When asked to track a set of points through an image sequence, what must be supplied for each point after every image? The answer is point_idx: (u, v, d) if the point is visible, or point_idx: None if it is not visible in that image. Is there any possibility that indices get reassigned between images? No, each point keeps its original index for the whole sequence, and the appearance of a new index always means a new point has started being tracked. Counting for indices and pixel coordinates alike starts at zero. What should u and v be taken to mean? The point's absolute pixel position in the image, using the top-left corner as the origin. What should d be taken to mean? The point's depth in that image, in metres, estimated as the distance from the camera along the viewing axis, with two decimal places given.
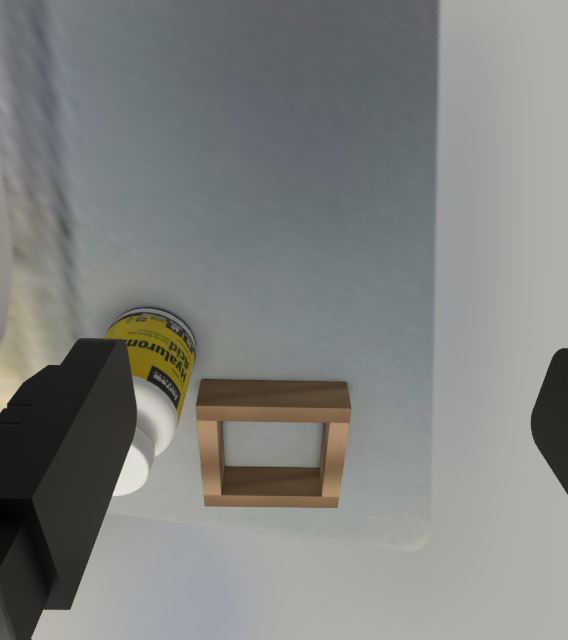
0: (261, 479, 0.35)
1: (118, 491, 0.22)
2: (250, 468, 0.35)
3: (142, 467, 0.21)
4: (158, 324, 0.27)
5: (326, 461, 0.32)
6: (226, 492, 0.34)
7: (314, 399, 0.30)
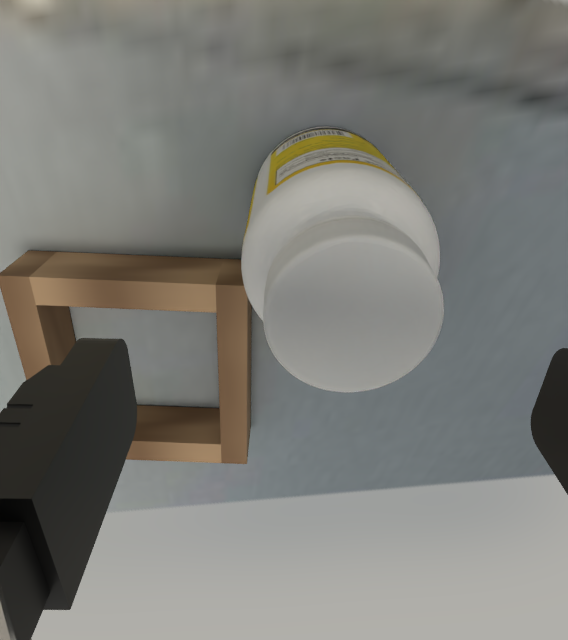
0: (64, 344, 0.21)
1: (280, 337, 0.11)
2: (69, 316, 0.22)
3: (346, 385, 0.11)
4: None
5: (145, 442, 0.22)
6: (40, 310, 0.19)
7: (247, 418, 0.22)
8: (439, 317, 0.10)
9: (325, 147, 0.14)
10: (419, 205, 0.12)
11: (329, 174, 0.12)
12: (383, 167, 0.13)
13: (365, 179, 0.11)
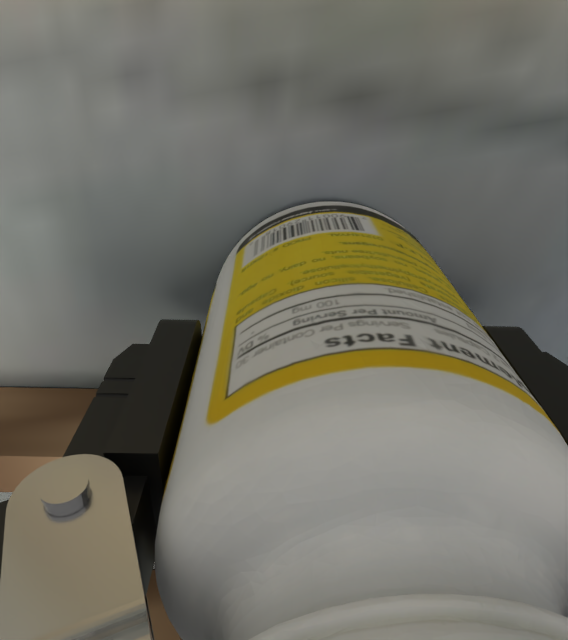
0: None
1: None
2: None
3: None
4: None
5: None
6: None
7: None
8: None
9: (333, 280, 0.07)
10: None
11: (352, 421, 0.04)
12: (467, 351, 0.06)
13: (447, 438, 0.04)
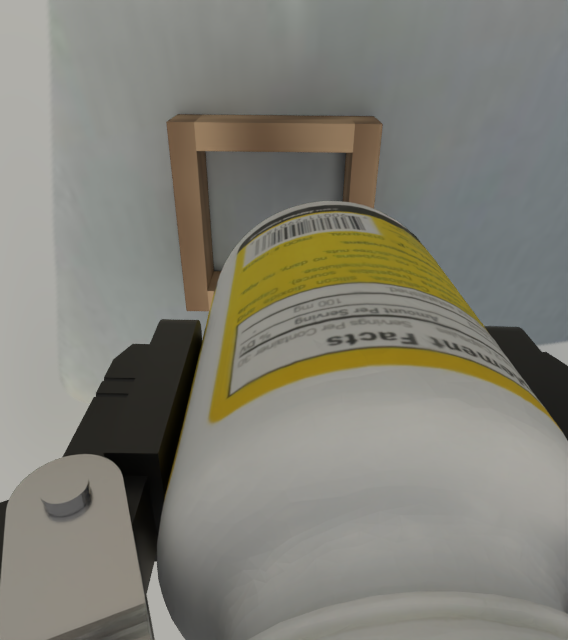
0: (205, 202, 0.24)
1: None
2: None
3: None
4: None
5: None
6: (198, 158, 0.22)
7: None
8: None
9: (335, 279, 0.07)
10: None
11: (355, 419, 0.04)
12: (469, 349, 0.06)
13: (450, 437, 0.04)
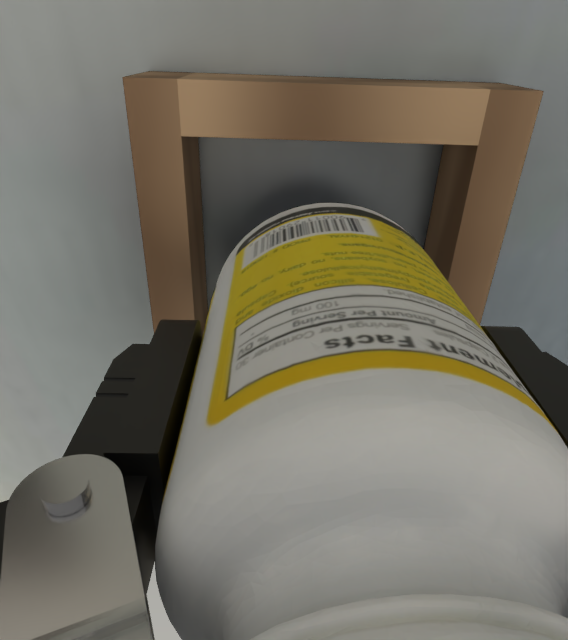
0: (197, 229, 0.14)
1: None
2: (200, 189, 0.14)
3: None
4: None
5: None
6: (184, 150, 0.12)
7: None
8: None
9: (333, 282, 0.07)
10: None
11: (351, 422, 0.04)
12: (466, 352, 0.06)
13: (447, 440, 0.04)
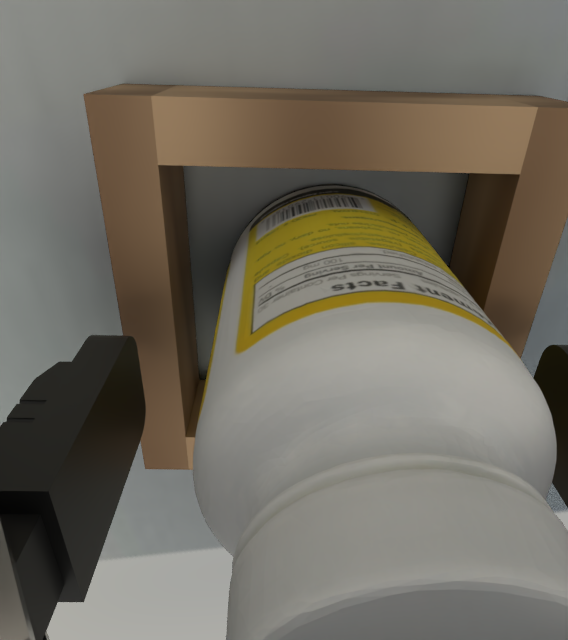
0: (182, 267, 0.12)
1: None
2: (186, 219, 0.12)
3: None
4: None
5: None
6: (163, 180, 0.10)
7: None
8: None
9: (337, 245, 0.08)
10: (528, 386, 0.06)
11: (354, 338, 0.06)
12: (447, 295, 0.07)
13: (428, 351, 0.06)
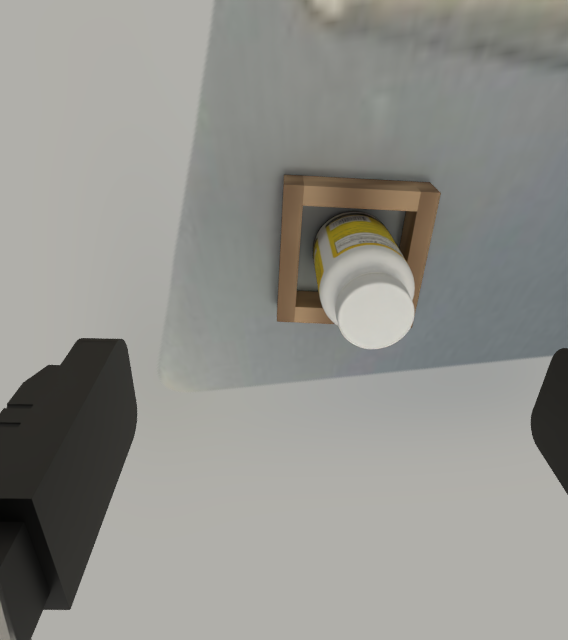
0: None
1: (344, 323, 0.25)
2: None
3: (372, 345, 0.26)
4: None
5: None
6: None
7: None
8: (412, 315, 0.25)
9: (359, 231, 0.28)
10: (404, 265, 0.26)
11: (364, 251, 0.26)
12: (388, 245, 0.27)
13: (380, 254, 0.26)
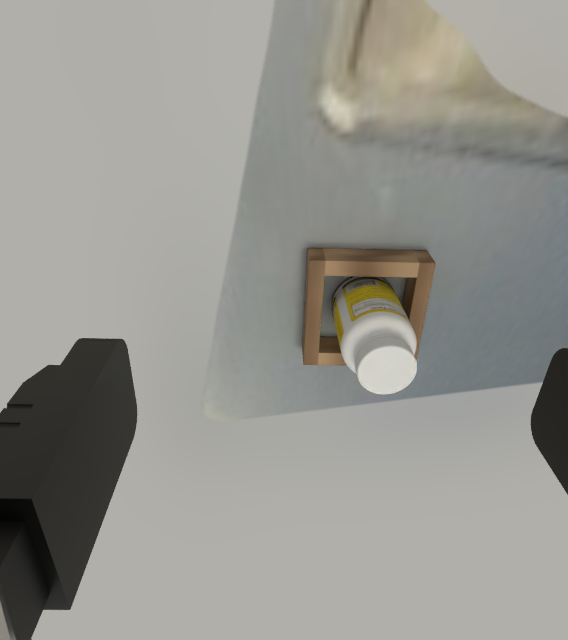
0: None
1: (362, 376, 0.32)
2: None
3: (384, 392, 0.33)
4: None
5: None
6: None
7: None
8: (415, 369, 0.32)
9: (370, 297, 0.35)
10: (408, 326, 0.33)
11: (376, 317, 0.33)
12: (394, 309, 0.34)
13: (389, 320, 0.33)
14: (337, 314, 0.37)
